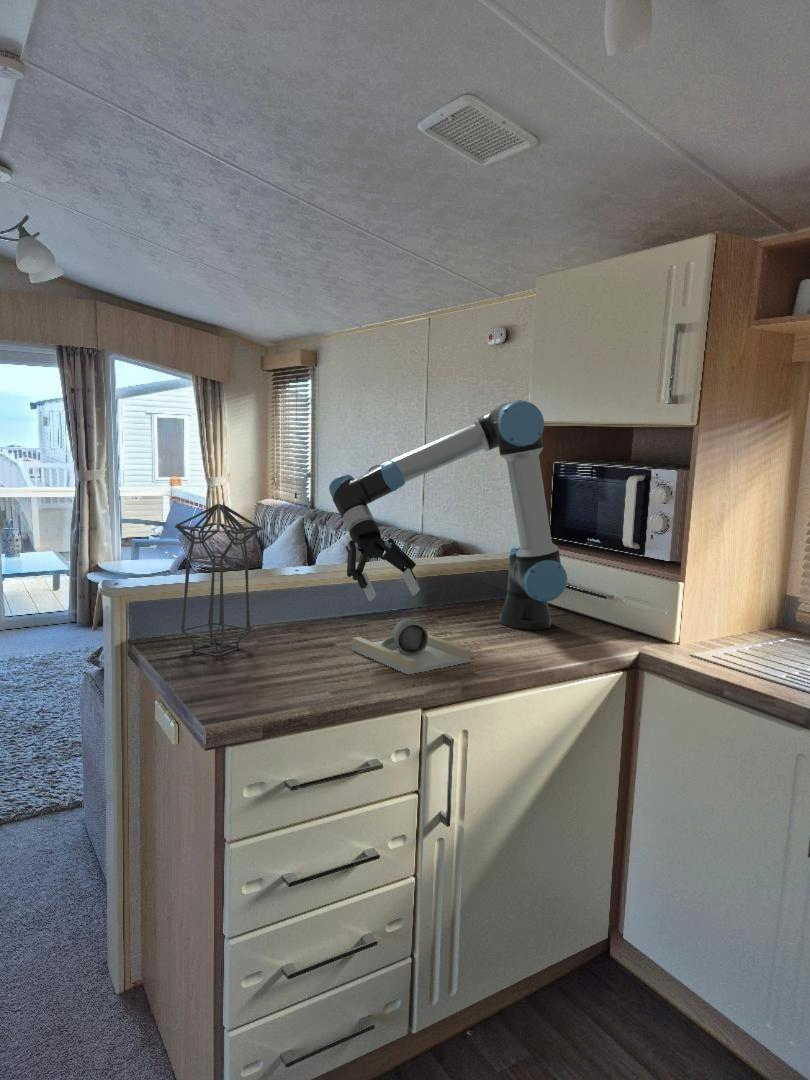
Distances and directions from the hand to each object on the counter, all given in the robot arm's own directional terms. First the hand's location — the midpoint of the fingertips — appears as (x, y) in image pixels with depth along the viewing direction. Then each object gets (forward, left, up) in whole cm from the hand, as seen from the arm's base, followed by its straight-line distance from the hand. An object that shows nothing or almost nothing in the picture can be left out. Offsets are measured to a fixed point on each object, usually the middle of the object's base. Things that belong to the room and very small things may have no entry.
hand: (395, 595), depth 177 cm
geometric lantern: (+36, -22, -14) cm, 45 cm away
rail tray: (-1, +6, -14) cm, 15 cm away
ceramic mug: (+1, +5, -13) cm, 14 cm away
